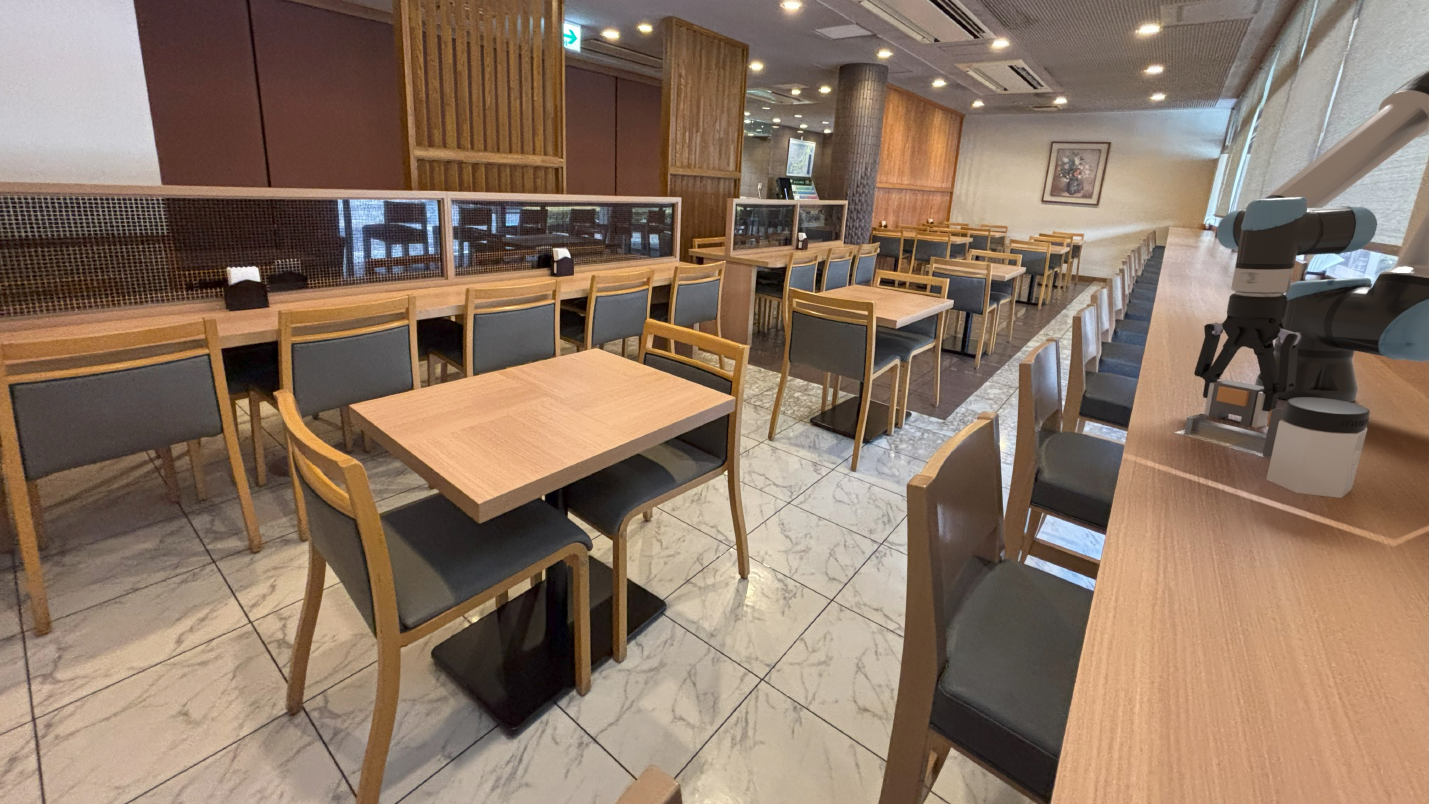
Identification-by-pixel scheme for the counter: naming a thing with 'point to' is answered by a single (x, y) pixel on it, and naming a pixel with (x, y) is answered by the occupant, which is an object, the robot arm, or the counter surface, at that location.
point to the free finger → (1235, 400)
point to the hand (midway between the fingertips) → (1233, 421)
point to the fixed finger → (1272, 429)
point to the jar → (1318, 446)
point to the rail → (1224, 435)
